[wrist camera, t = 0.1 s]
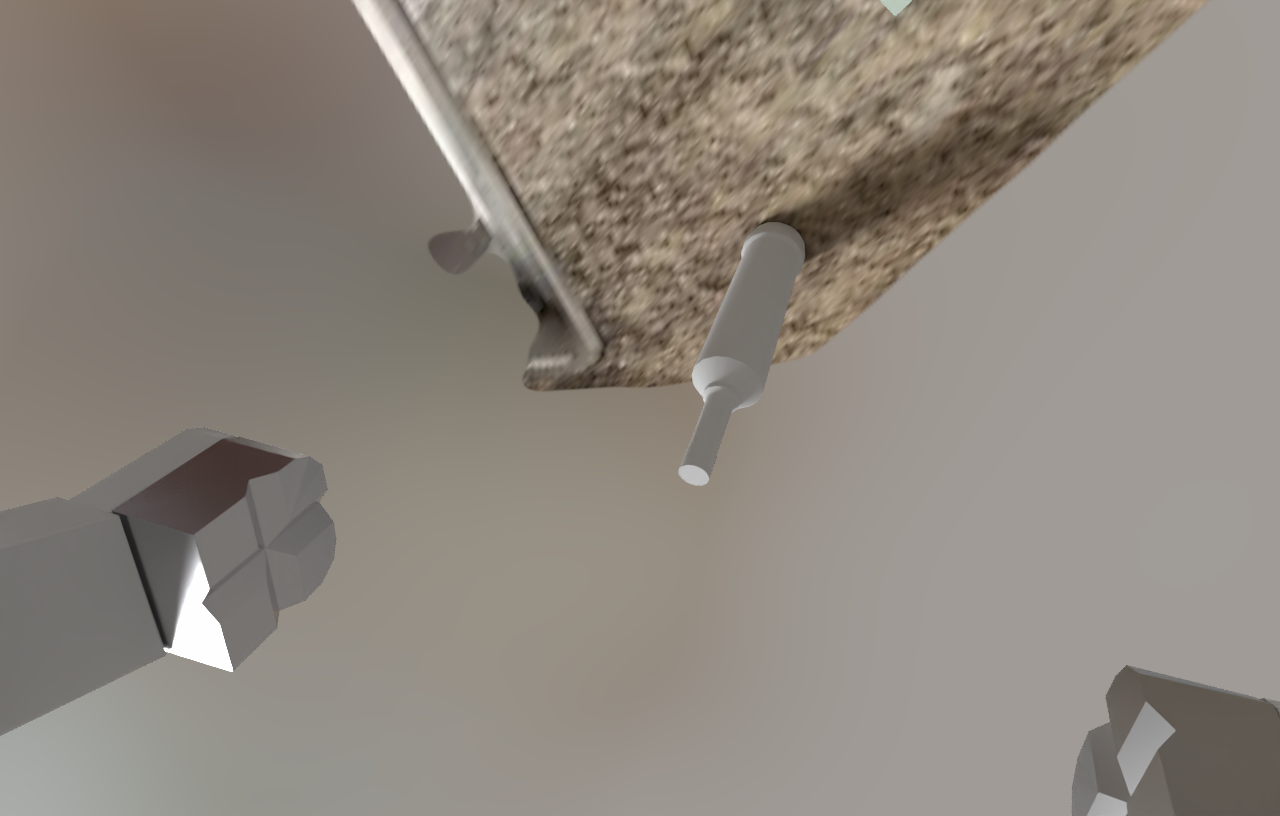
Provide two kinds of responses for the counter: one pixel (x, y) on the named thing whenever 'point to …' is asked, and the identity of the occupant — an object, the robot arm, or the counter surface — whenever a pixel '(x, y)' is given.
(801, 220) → the counter surface
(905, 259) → the counter surface
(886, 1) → the sage tray
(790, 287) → the bottle
